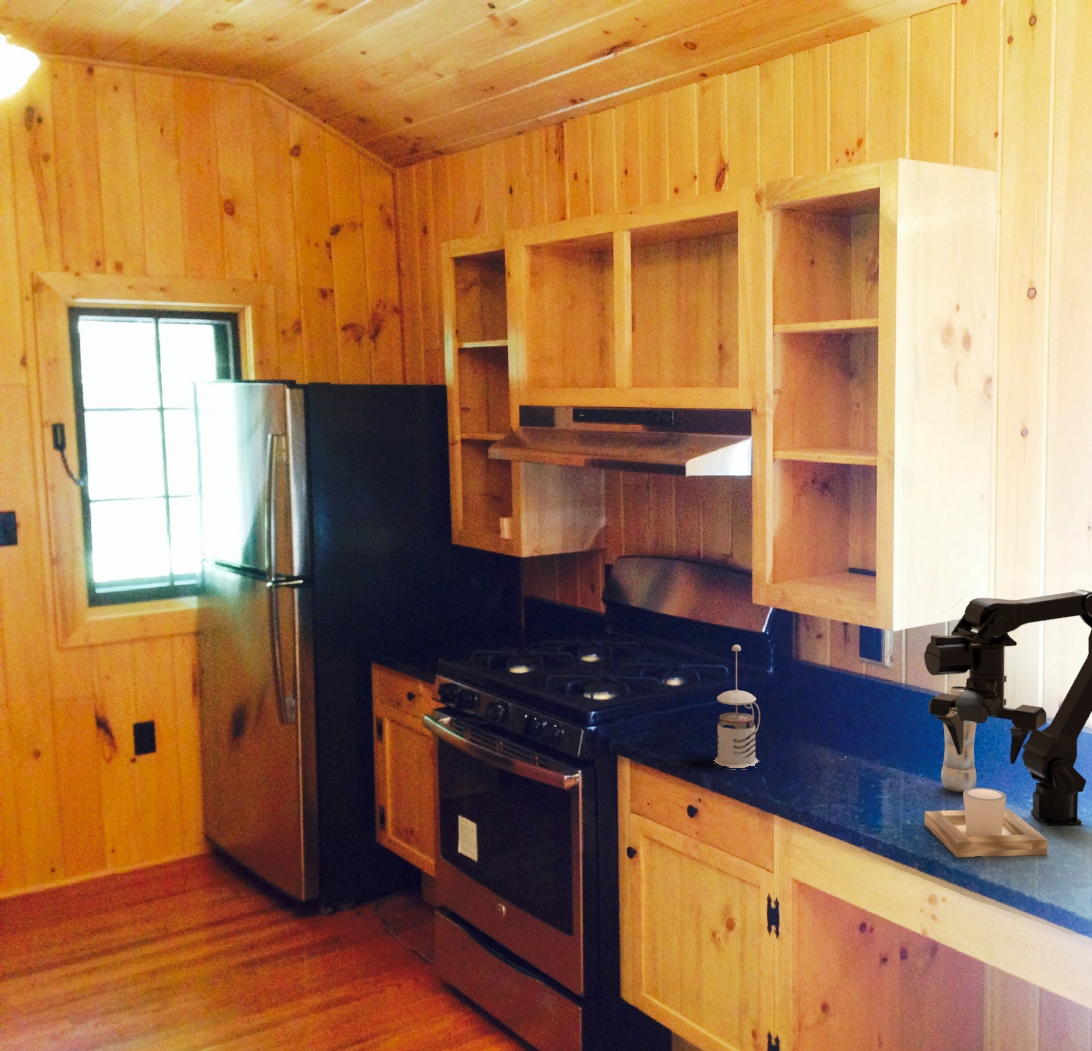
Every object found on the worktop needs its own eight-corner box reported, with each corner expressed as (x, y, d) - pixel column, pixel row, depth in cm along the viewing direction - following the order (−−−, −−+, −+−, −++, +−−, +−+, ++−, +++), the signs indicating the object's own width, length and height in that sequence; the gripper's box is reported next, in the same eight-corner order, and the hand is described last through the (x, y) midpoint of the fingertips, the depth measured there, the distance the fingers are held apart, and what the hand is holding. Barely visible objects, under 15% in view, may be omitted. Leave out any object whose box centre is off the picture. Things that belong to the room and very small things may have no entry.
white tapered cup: (970, 823, 205) (971, 784, 204) (1011, 831, 201) (1012, 792, 200) (956, 835, 200) (957, 794, 199) (997, 843, 196) (998, 802, 195)
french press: (703, 762, 246) (702, 644, 244) (738, 751, 254) (738, 637, 252) (740, 772, 239) (739, 651, 237) (775, 760, 247) (775, 643, 244)
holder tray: (1008, 822, 208) (1008, 808, 208) (1047, 854, 193) (1047, 839, 193) (924, 824, 208) (924, 811, 207) (956, 857, 193) (957, 842, 192)
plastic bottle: (940, 794, 224) (941, 690, 222) (941, 783, 230) (942, 682, 228) (976, 797, 222) (978, 693, 220) (976, 786, 228) (978, 685, 226)
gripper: (915, 673, 205) (915, 760, 206) (1025, 687, 192) (1024, 780, 194) (941, 661, 213) (941, 746, 215) (1048, 674, 201) (1046, 764, 202)
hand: (985, 758), depth 206 cm, fingers open, 9 cm apart
